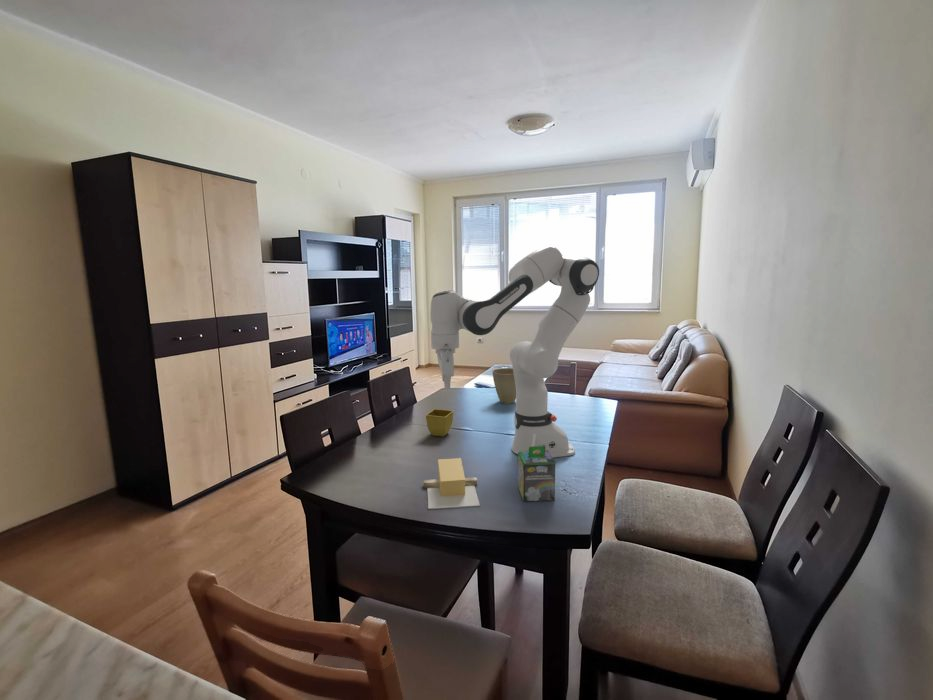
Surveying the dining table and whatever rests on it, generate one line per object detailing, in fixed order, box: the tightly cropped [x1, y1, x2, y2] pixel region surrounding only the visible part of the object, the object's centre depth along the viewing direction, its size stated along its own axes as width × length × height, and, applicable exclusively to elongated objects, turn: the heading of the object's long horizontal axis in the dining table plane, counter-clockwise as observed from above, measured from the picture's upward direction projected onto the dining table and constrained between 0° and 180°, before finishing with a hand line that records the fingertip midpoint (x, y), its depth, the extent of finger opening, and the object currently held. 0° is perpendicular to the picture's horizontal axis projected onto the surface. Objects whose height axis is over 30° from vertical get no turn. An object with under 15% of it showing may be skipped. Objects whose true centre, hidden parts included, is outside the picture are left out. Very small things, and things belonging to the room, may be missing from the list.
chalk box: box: [517, 446, 556, 502], centre depth 127 cm, size 9×9×15 cm
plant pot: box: [491, 367, 516, 405], centre depth 224 cm, size 15×15×16 cm
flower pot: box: [425, 408, 454, 437], centre depth 178 cm, size 9×9×9 cm
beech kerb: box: [423, 476, 478, 489], centre depth 134 cm, size 16×2×2 cm, turn 96°
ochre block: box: [437, 457, 466, 496], centre depth 131 cm, size 7×5×11 cm
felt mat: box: [426, 485, 481, 510], centre depth 126 cm, size 14×12×1 cm
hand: (446, 384), depth 143 cm, fingers open, 8 cm apart
